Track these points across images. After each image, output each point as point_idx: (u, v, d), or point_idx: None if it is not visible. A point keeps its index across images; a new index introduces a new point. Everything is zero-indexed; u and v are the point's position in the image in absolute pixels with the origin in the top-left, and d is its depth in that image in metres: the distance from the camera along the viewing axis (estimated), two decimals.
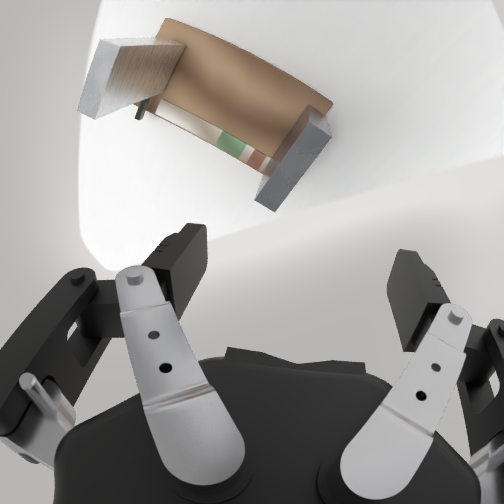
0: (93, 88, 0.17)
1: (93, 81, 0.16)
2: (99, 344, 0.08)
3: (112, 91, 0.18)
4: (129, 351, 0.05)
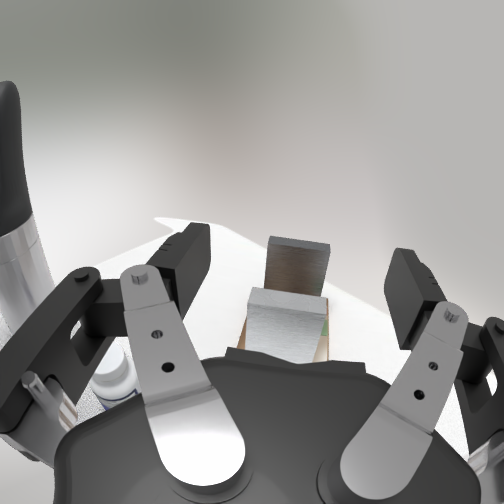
0: (297, 301, 0.23)
1: (290, 302, 0.22)
2: (103, 343, 0.08)
3: None
4: (132, 350, 0.05)
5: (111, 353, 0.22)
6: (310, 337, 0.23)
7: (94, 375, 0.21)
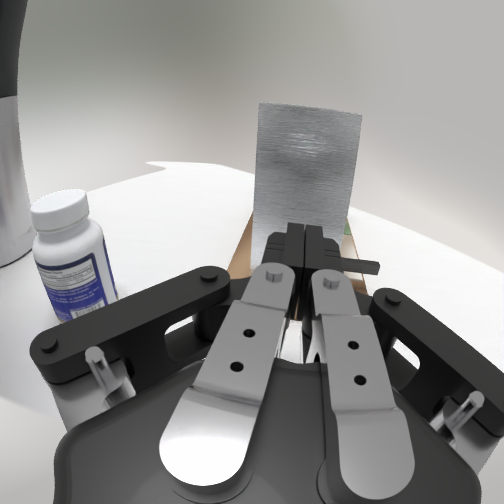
0: (322, 108, 0.16)
1: (314, 107, 0.16)
2: (204, 348, 0.08)
3: None
4: (217, 336, 0.06)
5: (68, 196, 0.15)
6: (345, 156, 0.16)
7: (38, 219, 0.14)
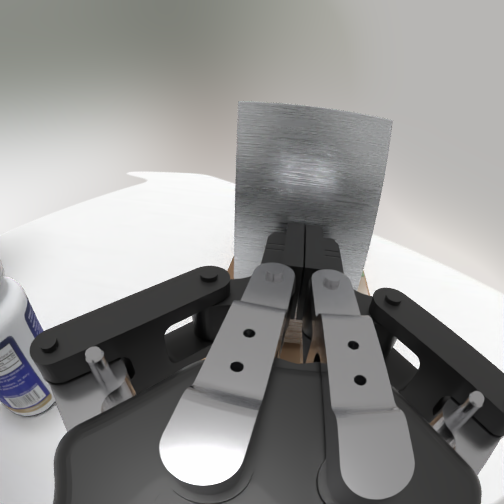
0: (333, 109, 0.11)
1: None
2: (205, 348, 0.08)
3: None
4: (217, 336, 0.06)
5: None
6: (366, 181, 0.11)
7: None
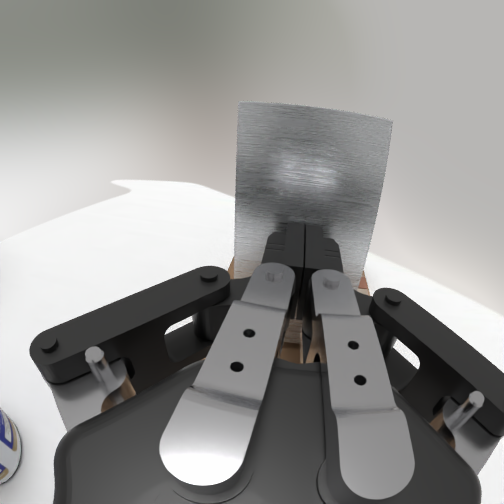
0: (333, 109, 0.11)
1: None
2: (205, 348, 0.08)
3: None
4: (217, 336, 0.06)
5: None
6: (366, 181, 0.11)
7: None
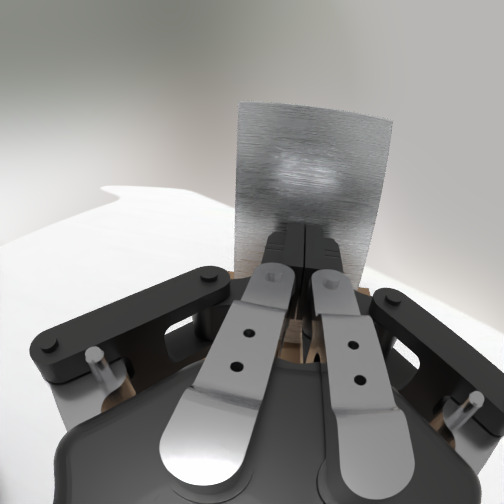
0: (333, 109, 0.11)
1: None
2: (205, 348, 0.08)
3: None
4: (217, 336, 0.06)
5: None
6: (366, 181, 0.11)
7: None
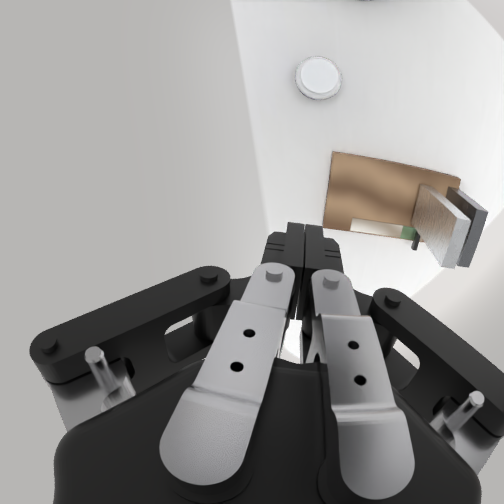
0: (454, 250, 0.27)
1: (454, 245, 0.27)
2: (205, 348, 0.08)
3: None
4: (217, 336, 0.06)
5: (323, 81, 0.26)
6: (435, 249, 0.30)
7: (300, 74, 0.26)
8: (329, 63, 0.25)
